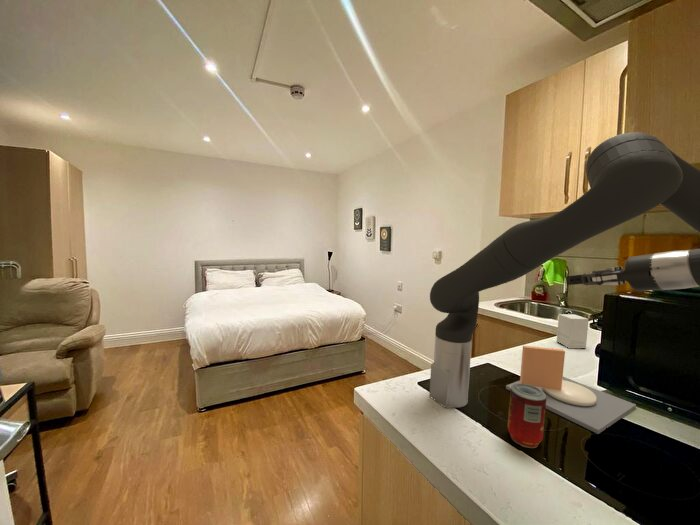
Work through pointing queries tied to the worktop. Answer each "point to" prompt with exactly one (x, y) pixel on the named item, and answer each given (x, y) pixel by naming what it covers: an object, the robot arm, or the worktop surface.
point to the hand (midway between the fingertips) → (568, 280)
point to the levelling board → (589, 409)
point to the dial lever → (552, 376)
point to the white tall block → (572, 330)
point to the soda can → (526, 414)
